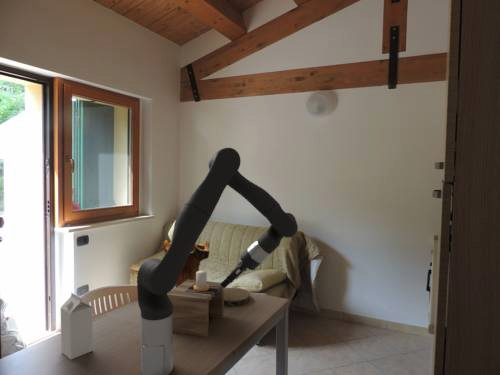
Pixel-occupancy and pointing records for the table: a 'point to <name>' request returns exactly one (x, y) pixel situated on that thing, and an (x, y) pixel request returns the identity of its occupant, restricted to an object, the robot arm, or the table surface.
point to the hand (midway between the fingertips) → (226, 282)
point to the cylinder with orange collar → (201, 281)
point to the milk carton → (76, 327)
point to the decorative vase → (191, 261)
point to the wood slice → (236, 297)
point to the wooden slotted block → (196, 307)
